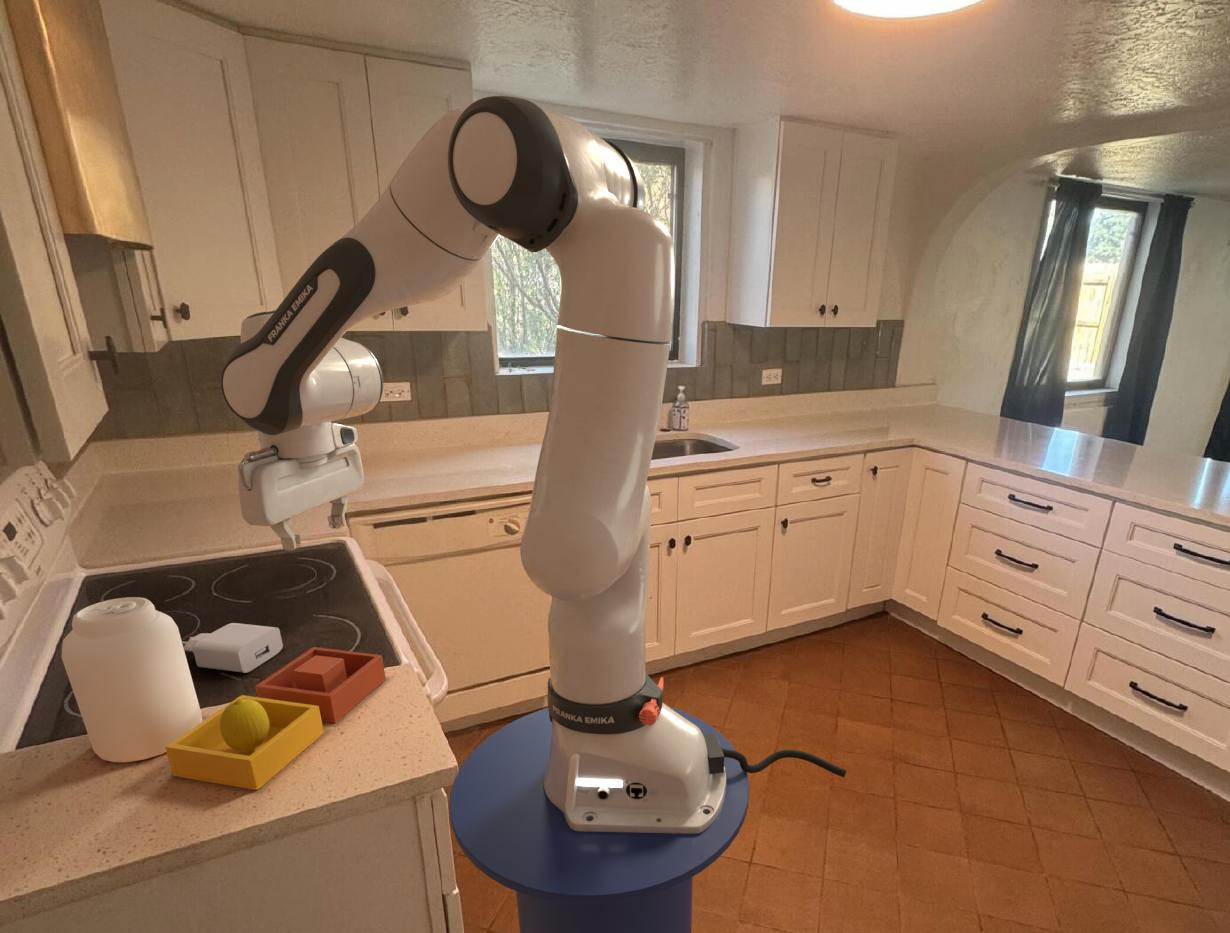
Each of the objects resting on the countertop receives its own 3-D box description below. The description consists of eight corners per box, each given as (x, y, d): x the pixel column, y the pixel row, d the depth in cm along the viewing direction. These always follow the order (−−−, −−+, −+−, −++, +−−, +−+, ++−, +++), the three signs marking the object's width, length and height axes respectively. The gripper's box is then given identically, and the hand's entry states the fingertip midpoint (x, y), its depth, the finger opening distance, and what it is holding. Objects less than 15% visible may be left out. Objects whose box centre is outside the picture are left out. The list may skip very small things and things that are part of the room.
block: (348, 686, 109) (343, 658, 107) (327, 703, 104) (322, 674, 103) (320, 682, 110) (315, 655, 108) (298, 699, 105) (292, 670, 104)
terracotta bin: (386, 679, 112) (382, 655, 110) (335, 723, 100) (330, 696, 99) (317, 671, 114) (313, 646, 113) (260, 712, 103) (254, 686, 101)
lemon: (256, 734, 97) (244, 684, 94) (283, 745, 95) (272, 694, 92) (218, 756, 92) (204, 704, 89) (245, 768, 90) (231, 715, 87)
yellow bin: (324, 732, 98) (318, 705, 97) (257, 790, 87) (249, 760, 85) (248, 721, 101) (241, 694, 99) (173, 776, 89) (164, 746, 88)
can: (208, 704, 105) (175, 582, 98) (199, 749, 94) (162, 616, 87) (106, 725, 100) (63, 598, 92) (85, 776, 89) (35, 636, 82)
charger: (211, 641, 124) (284, 649, 121) (166, 666, 116) (243, 675, 113) (204, 617, 122) (278, 625, 120) (159, 640, 114) (237, 649, 111)
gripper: (259, 456, 82) (282, 565, 87) (364, 427, 101) (378, 518, 106) (214, 454, 84) (239, 561, 89) (326, 426, 102) (342, 515, 107)
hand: (316, 537), depth 97 cm, fingers open, 8 cm apart
